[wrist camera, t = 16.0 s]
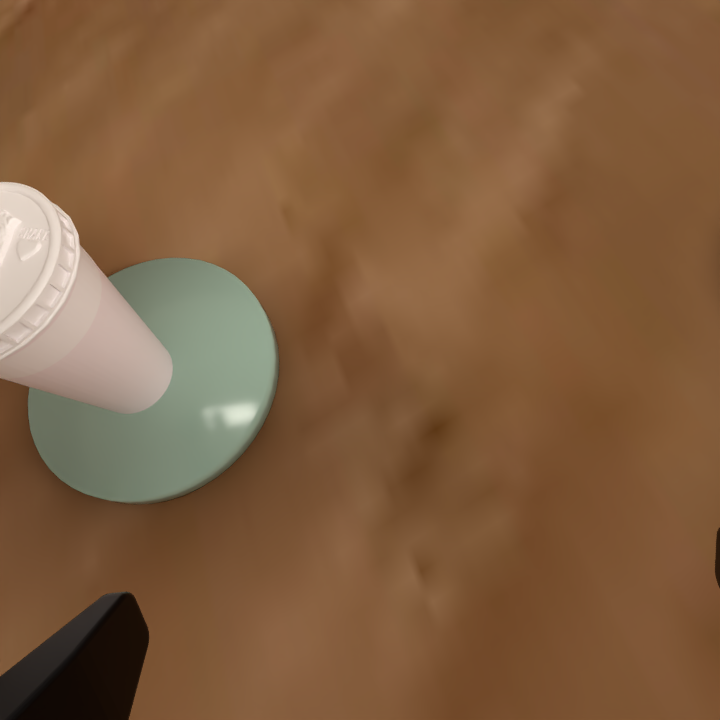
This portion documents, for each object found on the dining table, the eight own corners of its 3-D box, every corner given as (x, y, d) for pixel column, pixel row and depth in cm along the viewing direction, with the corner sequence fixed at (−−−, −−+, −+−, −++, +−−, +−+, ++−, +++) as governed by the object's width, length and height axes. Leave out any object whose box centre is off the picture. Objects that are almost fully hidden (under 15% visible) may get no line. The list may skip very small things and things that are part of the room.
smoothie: (45, 396, 26) (-355, 209, 13) (135, 292, 27) (-148, 34, 15) (135, 471, 24) (-243, 334, 11) (228, 354, 25) (-11, 112, 12)
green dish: (170, 559, 23) (155, 558, 22) (-1, 420, 27) (-20, 413, 26) (328, 332, 26) (322, 321, 25) (151, 237, 30) (140, 224, 29)
